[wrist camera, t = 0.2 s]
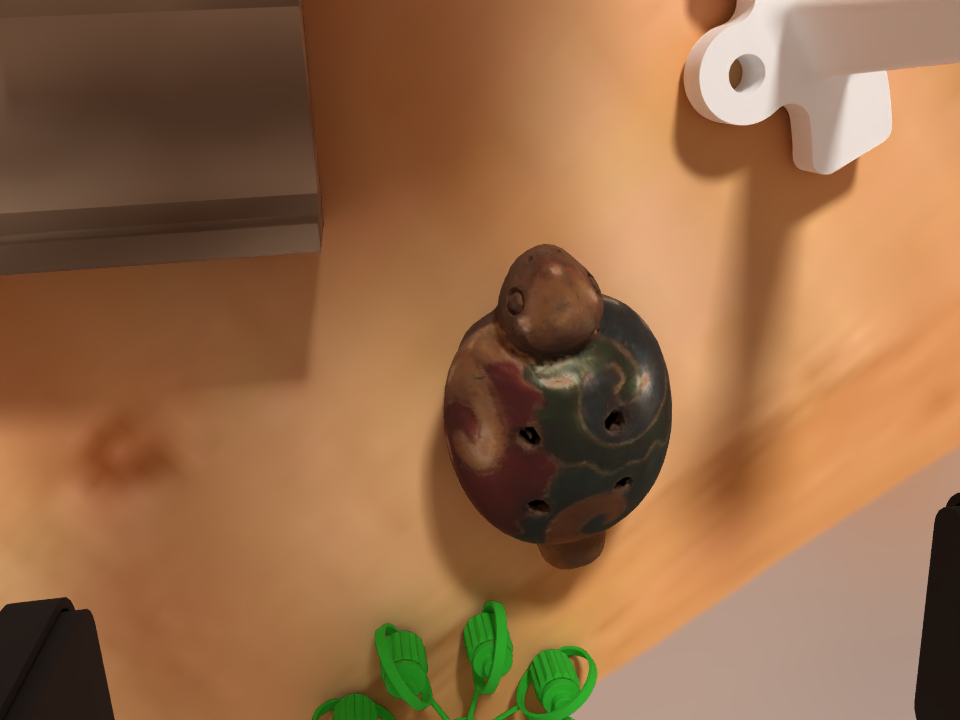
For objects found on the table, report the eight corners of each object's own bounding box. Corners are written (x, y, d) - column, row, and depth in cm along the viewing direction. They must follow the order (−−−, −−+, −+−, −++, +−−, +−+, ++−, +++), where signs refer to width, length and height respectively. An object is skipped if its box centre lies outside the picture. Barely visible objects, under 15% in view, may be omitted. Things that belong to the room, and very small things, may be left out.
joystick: (885, 119, 40) (1361, 159, 22) (738, 210, 41) (1082, 327, 22) (785, -124, 37) (1255, -332, 18) (625, -23, 37) (922, -124, 18)
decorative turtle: (600, 188, 40) (675, 226, 32) (655, 482, 45) (729, 571, 38) (385, 251, 38) (412, 306, 31) (470, 544, 44) (509, 648, 37)
